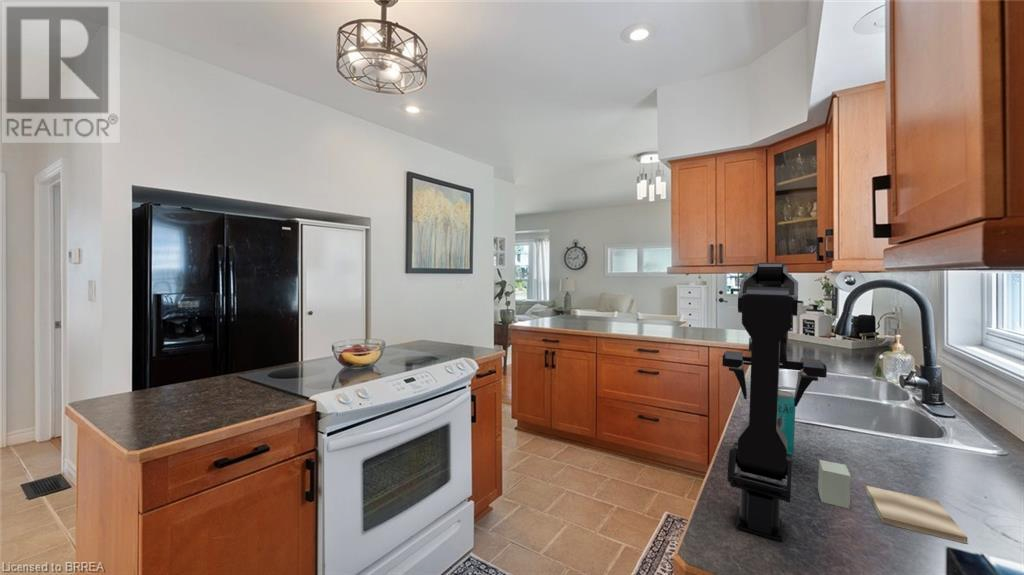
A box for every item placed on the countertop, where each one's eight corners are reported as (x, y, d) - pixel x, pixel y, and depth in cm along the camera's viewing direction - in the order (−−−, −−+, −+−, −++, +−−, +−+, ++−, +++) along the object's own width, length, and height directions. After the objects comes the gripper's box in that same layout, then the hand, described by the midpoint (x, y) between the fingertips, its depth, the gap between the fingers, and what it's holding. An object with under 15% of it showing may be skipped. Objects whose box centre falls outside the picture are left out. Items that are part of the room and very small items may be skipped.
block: (849, 508, 73) (850, 476, 73) (821, 502, 75) (822, 470, 75) (844, 495, 77) (845, 464, 77) (817, 489, 79) (819, 459, 79)
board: (967, 543, 64) (967, 537, 64) (882, 522, 69) (882, 517, 69) (937, 506, 74) (938, 501, 74) (865, 490, 79) (866, 485, 79)
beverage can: (757, 454, 95) (759, 390, 94) (774, 450, 97) (776, 388, 96) (782, 465, 89) (785, 397, 89) (799, 460, 92) (801, 394, 91)
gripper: (820, 331, 91) (817, 400, 91) (725, 324, 100) (723, 387, 100) (828, 337, 81) (825, 414, 81) (723, 329, 90) (721, 398, 91)
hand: (769, 402), depth 89 cm, fingers open, 9 cm apart
